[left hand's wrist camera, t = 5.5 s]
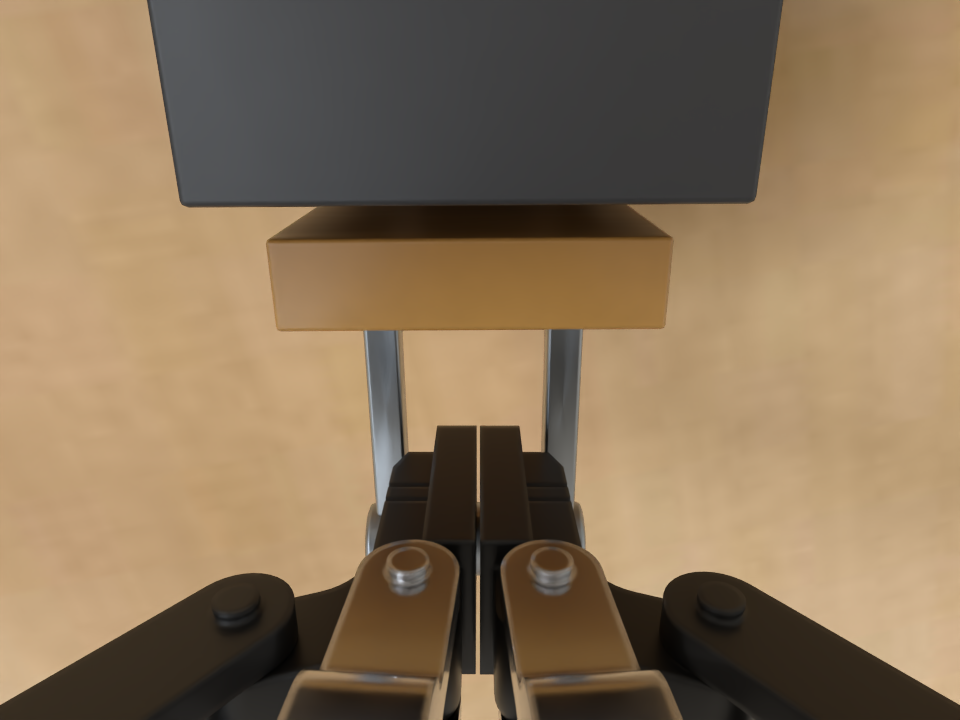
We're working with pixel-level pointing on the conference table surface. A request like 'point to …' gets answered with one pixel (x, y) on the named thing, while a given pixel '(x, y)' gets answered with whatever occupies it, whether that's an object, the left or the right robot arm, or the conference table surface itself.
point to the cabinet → (465, 100)
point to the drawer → (470, 297)
